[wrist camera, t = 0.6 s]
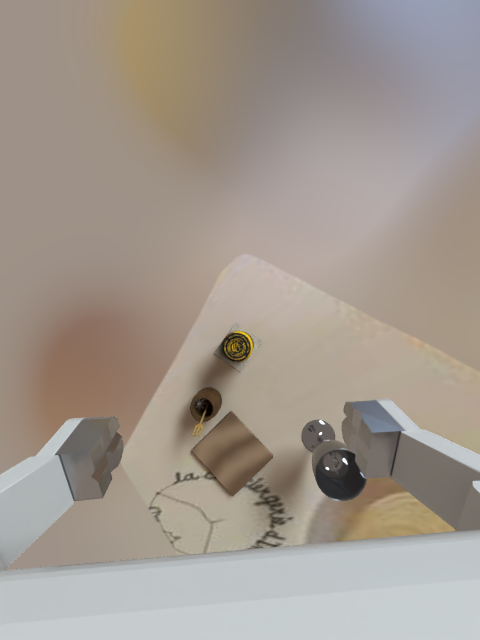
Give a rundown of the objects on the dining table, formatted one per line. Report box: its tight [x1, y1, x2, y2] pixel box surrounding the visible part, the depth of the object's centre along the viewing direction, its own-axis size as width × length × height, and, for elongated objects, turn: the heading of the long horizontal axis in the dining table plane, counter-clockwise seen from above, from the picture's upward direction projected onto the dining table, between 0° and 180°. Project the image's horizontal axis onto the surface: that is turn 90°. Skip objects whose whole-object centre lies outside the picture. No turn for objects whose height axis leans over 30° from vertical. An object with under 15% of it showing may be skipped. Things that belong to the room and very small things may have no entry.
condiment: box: [214, 323, 262, 372], centre depth 51 cm, size 7×8×12 cm
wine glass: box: [302, 420, 367, 501], centre depth 47 cm, size 8×8×15 cm
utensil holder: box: [190, 388, 222, 436], centre depth 51 cm, size 6×6×12 cm
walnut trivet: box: [192, 411, 273, 496], centre depth 55 cm, size 13×12×1 cm
